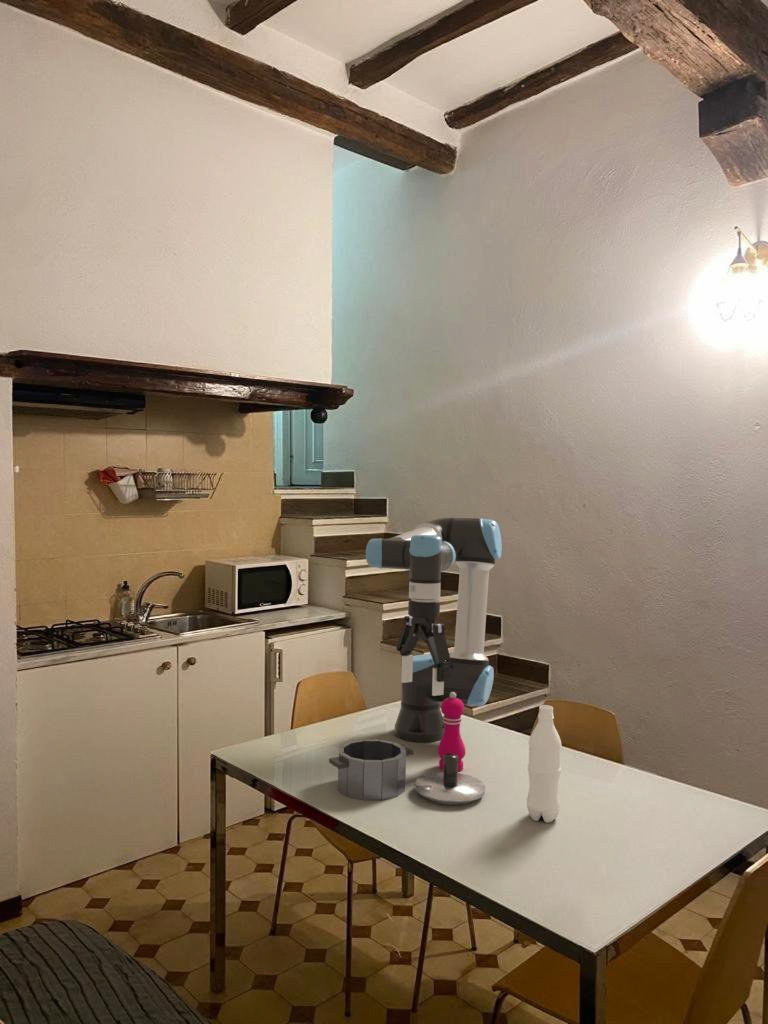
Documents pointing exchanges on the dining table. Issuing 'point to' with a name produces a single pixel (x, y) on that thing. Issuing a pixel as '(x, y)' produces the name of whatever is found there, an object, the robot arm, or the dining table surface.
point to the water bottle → (544, 767)
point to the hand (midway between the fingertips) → (421, 688)
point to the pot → (371, 769)
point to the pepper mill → (452, 730)
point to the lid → (450, 784)
